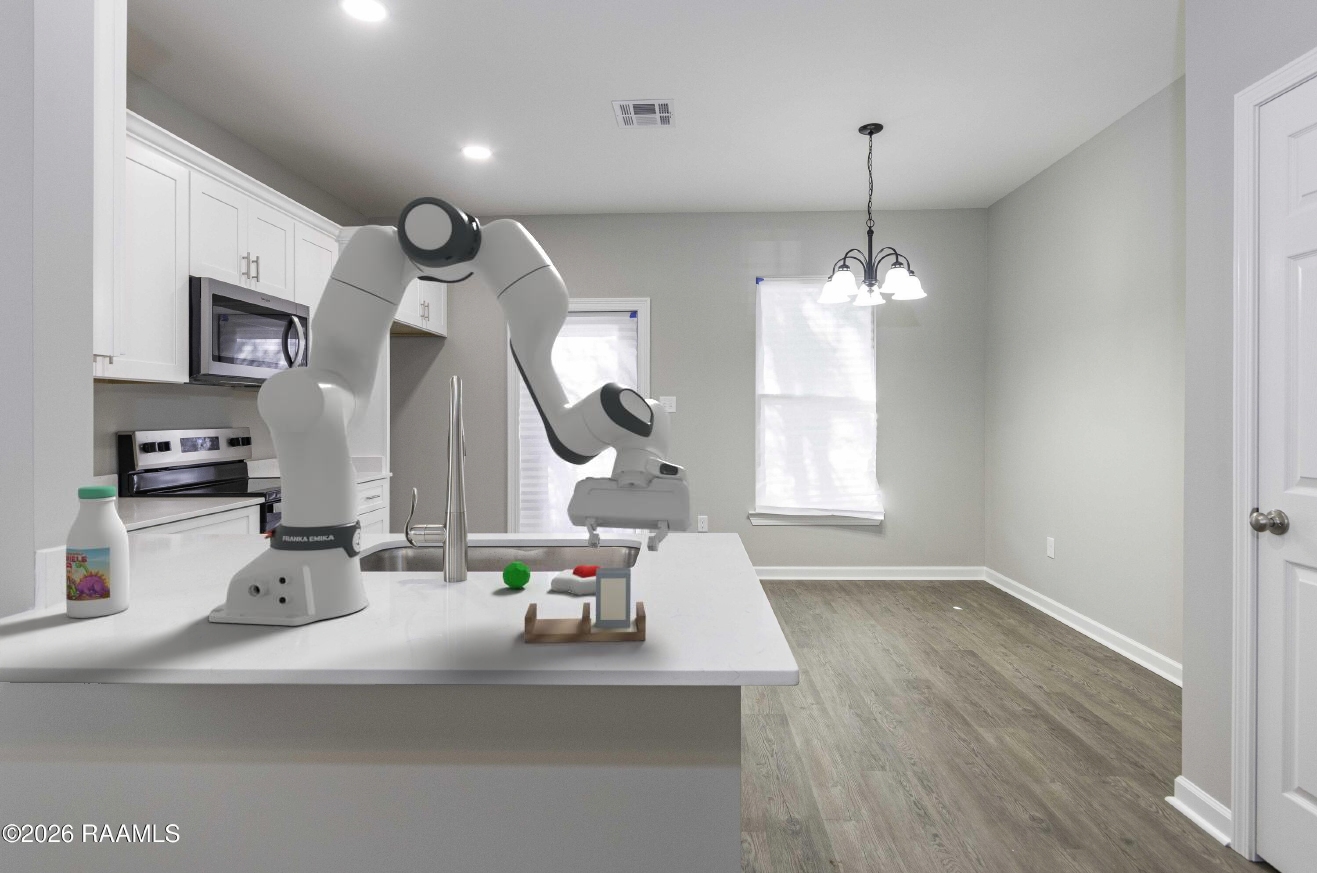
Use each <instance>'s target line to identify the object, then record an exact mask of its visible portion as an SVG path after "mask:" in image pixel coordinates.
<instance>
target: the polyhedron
mask: <svg viewBox="0 0 1317 873" xmlns="http://www.w3.org/2000/svg"><path fill="white" fill-rule="evenodd" d="M530 571H531V570H530V568H529V567H528V566H527V565H525V564H524V563H522V562H521V561H512V562H511V563H510V564H508V565H506V567H504V570H503V572H502V580H503V584H505V585H506V586H508V587H509V588H510V589H512V590H518V589H517V588H520V589H522V588H523V587H524V586H526V585H527V584H528V583H529V582H530V578H531V572H530Z"/></svg>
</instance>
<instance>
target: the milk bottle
mask: <svg viewBox="0 0 1317 873" xmlns="http://www.w3.org/2000/svg"><path fill="white" fill-rule="evenodd" d="M77 491H78V492H77V497H78V502H79V504H80V505H79V510H78V513H77V516H76V518H75V520H74V522H73V524H72V525H71V527H70V529H69V532H68V534H67V538H66V546H65V588H66V589H65V590H66V591H65V594H66V595H65V596H66V598H65V599H66V600H65V601H66V602H65V603H66V614H67V616H68V617H69V618H73V619H87V618H97V617H105V616H110V615H114V614H118V613H120V612H124V611H125V610H127V609H128V608H129V607H130V605H131V604H130V603H131V602H130V601H131V599H130V598H131V597H130V596H131V594H130V591H131V589H130V586H131V585H130V582H131V581H130V576H131V575H130V574H131V573H130V547H129V546H130V545H129V535H128V531H127V529H126V527H125V524H124V523H123V521H122V519H121V518H120V515H119V514H118V512H117V509H116V506H115V501H116V499H117V498H116V496H117V489H116V487H115V485H114V486H112V485H93V486H85V487H79V488H78V489H77Z"/></svg>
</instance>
